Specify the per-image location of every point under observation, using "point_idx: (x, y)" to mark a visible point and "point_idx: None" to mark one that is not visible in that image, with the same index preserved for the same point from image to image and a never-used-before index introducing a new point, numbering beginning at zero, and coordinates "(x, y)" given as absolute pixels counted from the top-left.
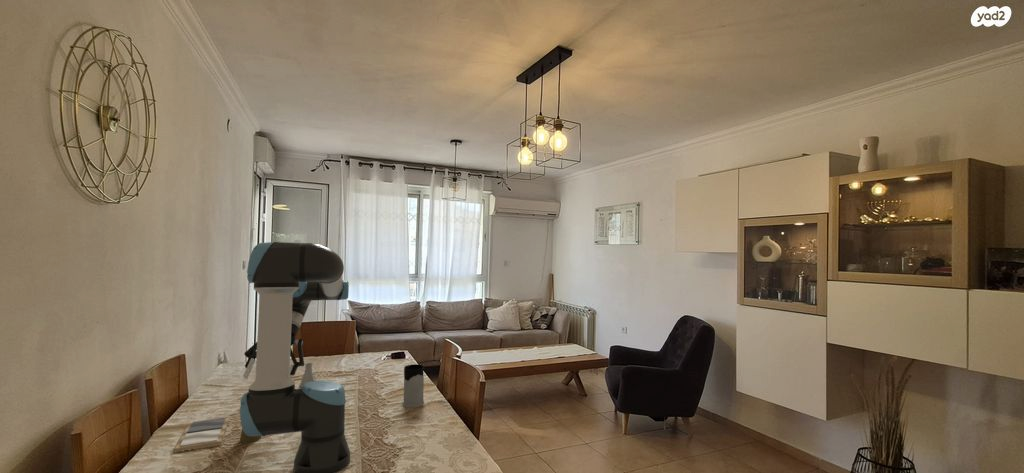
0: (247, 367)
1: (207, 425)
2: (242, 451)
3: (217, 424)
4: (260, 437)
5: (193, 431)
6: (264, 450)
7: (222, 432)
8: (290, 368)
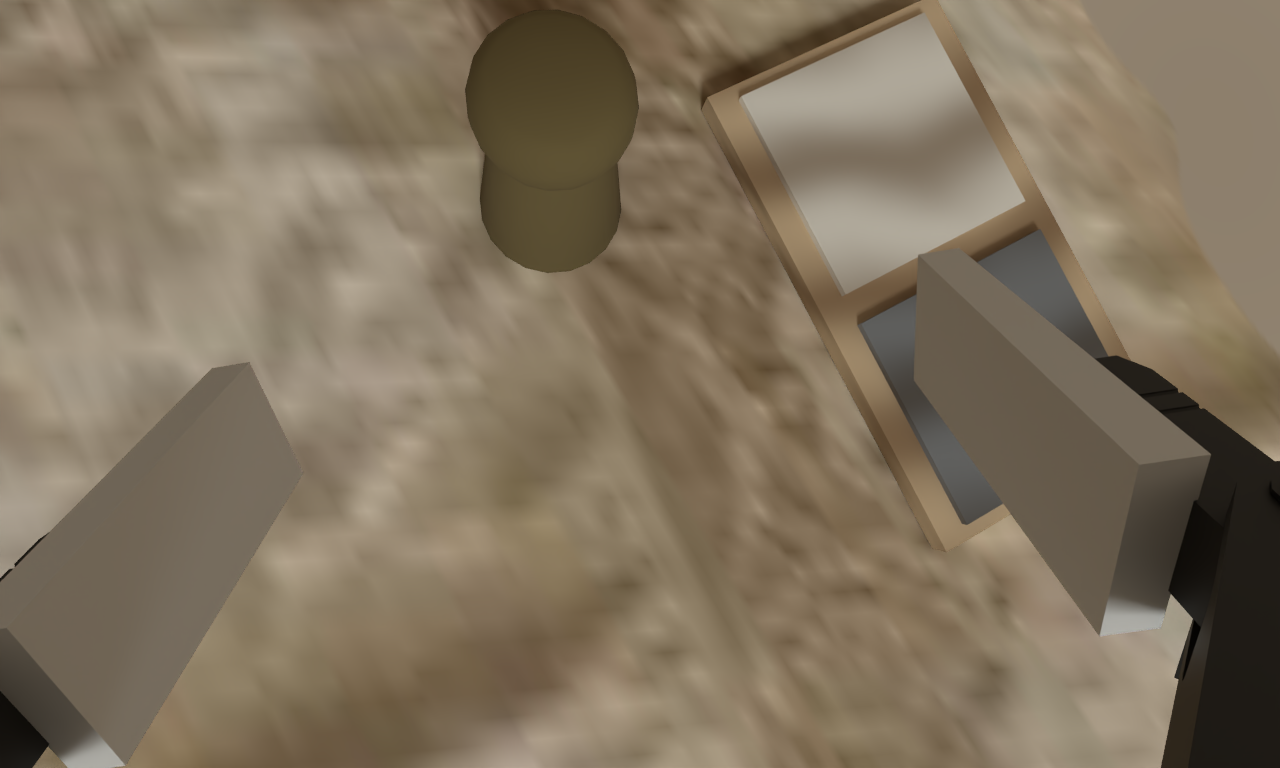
0: (1034, 319)
1: None
2: (491, 13)
3: None
4: (482, 213)
5: (1008, 244)
6: (340, 23)
7: (800, 249)
8: (61, 549)
